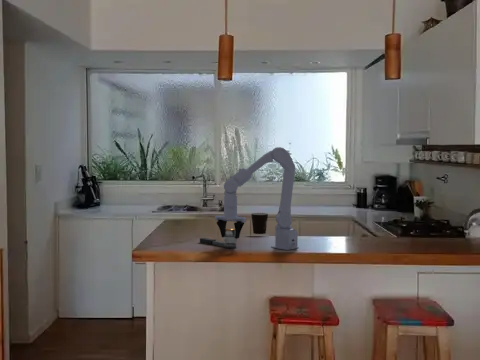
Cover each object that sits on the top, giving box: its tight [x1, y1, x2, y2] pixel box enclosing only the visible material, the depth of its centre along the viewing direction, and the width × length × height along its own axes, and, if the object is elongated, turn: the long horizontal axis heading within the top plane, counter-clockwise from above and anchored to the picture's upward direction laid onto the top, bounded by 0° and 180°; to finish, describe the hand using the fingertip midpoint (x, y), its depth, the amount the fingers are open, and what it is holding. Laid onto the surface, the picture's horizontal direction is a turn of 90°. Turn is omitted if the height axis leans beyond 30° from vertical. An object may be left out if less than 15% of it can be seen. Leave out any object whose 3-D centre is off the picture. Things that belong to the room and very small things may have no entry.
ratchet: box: [199, 237, 237, 250], centre depth 246 cm, size 22×5×4 cm, turn 45°
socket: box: [223, 228, 238, 243], centre depth 240 cm, size 5×5×6 cm
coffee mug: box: [250, 212, 269, 235], centre depth 283 cm, size 12×9×10 cm
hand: (230, 237), depth 240 cm, fingers closed on socket, 6 cm apart
